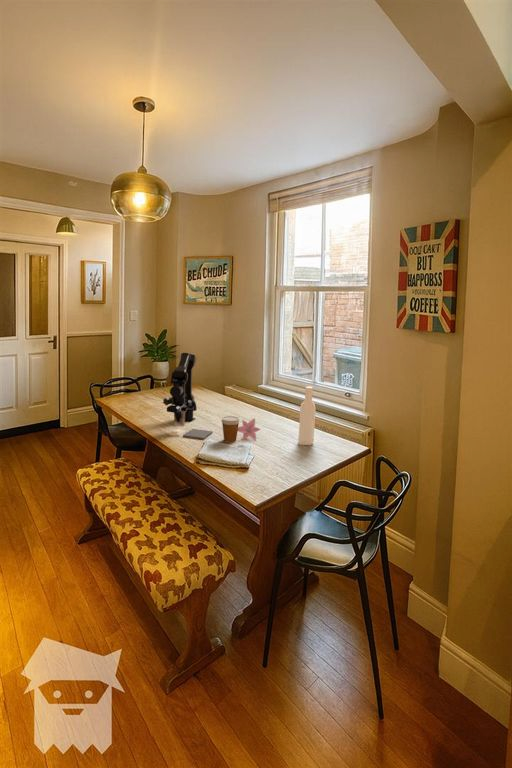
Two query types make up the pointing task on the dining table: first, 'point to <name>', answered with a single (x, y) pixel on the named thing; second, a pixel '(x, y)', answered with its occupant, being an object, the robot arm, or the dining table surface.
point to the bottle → (307, 419)
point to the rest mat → (198, 434)
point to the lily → (248, 429)
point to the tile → (177, 432)
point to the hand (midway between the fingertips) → (179, 421)
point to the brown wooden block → (182, 420)
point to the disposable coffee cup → (230, 428)
